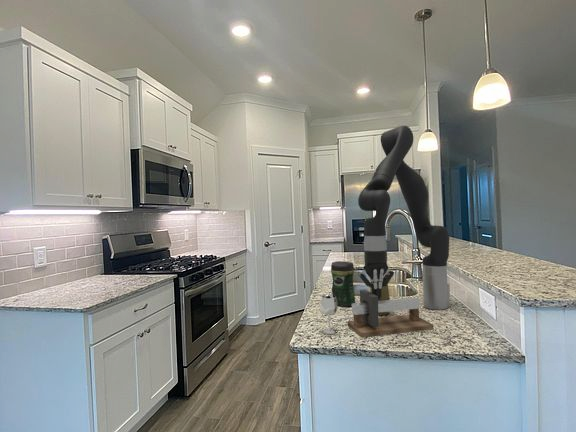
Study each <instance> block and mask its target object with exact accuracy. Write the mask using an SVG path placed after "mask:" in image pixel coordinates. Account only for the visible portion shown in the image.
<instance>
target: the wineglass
mask: <svg viewBox="0 0 576 432" xmlns="http://www.w3.org/2000/svg"><path fill="white" fill-rule="evenodd" d="M319 305H320V311H321V313H322V314H324V315H325V316H328V317H327V321H328V328H327V329H326V328H325V329H324V330H323V331H322V332H323V333H324V334H328V335H333V334H336V333H337V330H336V329H334V328H332V327H331V319H332V316H334V315H335V314H336V313H337V312H338V308H339V307H338V305H337V300H336V296H334V295H332V294H325V295H322V296H321V299H320V304H319Z"/></svg>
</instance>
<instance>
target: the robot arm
mask: <svg viewBox="0 0 576 432" xmlns="http://www.w3.org/2000/svg"><path fill="white" fill-rule="evenodd" d="M413 143H414V134H413V131H412V130H411V128H410V126H407V125H399V126H397V127H395V128H392V129H389V130H386V131H384V132H383V133H381V135H380V144H381V148H382V151H383V152H384V154H385V157H384V158H383V159H382V161H380V162H379V164H378V165H377V167H376V168H375V170H374V173H373V175H372V177H371V180H370V181H369V182H368V183H367V184H366V186H365V187H363V189H362V190H361V191H360V193H359V196H358V199H357V202H358V206H359V208H360V210H362V211H365V212H372V211H373V212H376V213H375V215H374V216H373V217H369V218H366V219H365V220H364V225H363V226H364V228H363V229H364V230H363V231H364V240H363V254H364V255H363V256H364V257H363V258H364V259H363V260H364V266H363V269H362V271H361V272H358V273H357V276H358V277H359V279H361V281H362V282H363V283H364V284H365V286H366V287H368V288H369V289H370V288H372V294H374V295H376V296H378V299H380V298H381V288H382V287H384V286H386V285H387V284H389V283H390V281H391V279H392V278H393V276H394V274H395V271H393V270H391V269H390V268H389V265H388V264H387V263H388V246H387V244H388V241H387V236H386V224H387V223H386V222H387V218H388V214H389V213H388V212H389V209H390V205H391V197H390V193H388V191H389V190H390V188H391V186H392V184H393V181H394V179H395V177H396V179H397V183H398V186H399V188H400V191H401V193H402V196H403V199H404V201H405V203H406V206H407V209H408V212H409V214H410V217H411V219H412V222H413V226H414V231H415V235H416V239H417V241H418V243H419V244H420V245H421V246H422V247H424V248H429V249H430V251H429V252H430V253H429V254H428V255H426V256H424V257H422V260H421V261H422V262H421V264H422V265H421V267H422V294H423V295H422V299H423V300H422V302H423V305H422V306H423V307H424V308H425V309H426V308H427V309H428V310H429V309H430V310H440V311H441V310H446V309H448V308H451V290H450V289H451V285H450V283H448V259H449V256H450V234H449V231H448V229H447V227H445V226H443V225H433V224H431V222H430V220H429V217H428V214H427V209H428V208H427V207H428V204H429V203H428V202H429V191H428V188H427V185H426V183H425V180H424V178H423V177H422V176H421V175H420V173H418V172H417V171H416V170H414V169H413V168H412V167H411V166H410V165H408V164H407V163H406V162H405V161H404V160H405V157H406V156H407V155H408V153H409V151H410V150H411V148H412V146H413ZM367 276H368V278H369V279H368V278H367ZM383 276H384V278H383Z"/></svg>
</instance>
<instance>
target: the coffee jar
mask: <svg viewBox="0 0 576 432" xmlns="http://www.w3.org/2000/svg"><path fill="white" fill-rule="evenodd" d="M330 273H331V276H332V288H331V290H332V293H331V295H334V296H336V300H337V305H338V306H340V307H352V304H353V303H356V295H355V287H354V274H355V267H354V263H353V262H352V261H343V260H341V261H340V260H339V261H338V260H337V261H333V262H331V265H330Z"/></svg>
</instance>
